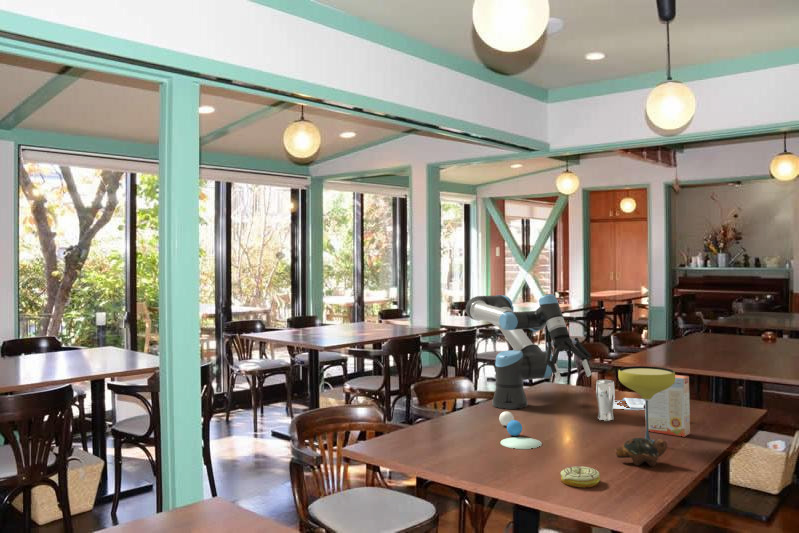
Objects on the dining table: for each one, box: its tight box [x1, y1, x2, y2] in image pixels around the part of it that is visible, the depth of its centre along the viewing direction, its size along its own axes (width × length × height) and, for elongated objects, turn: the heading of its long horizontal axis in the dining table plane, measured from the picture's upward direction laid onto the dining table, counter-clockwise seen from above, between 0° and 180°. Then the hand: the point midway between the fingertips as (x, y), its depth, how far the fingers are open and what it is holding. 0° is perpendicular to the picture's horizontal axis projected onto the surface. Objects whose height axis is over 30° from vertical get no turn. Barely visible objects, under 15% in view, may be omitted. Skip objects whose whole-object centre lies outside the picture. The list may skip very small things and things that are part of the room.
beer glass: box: [595, 379, 616, 422], centre depth 255 cm, size 7×7×15 cm
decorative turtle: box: [614, 437, 668, 468], centre depth 200 cm, size 10×15×8 cm, turn 80°
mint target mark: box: [500, 436, 543, 450], centre depth 224 cm, size 14×14×1 cm
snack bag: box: [613, 397, 645, 411], centre depth 279 cm, size 19×20×2 cm
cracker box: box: [644, 374, 691, 438], centre depth 234 cm, size 14×6×21 cm, turn 47°
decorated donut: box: [559, 465, 601, 489], centre depth 184 cm, size 10×11×4 cm
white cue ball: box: [498, 410, 515, 427], centre depth 248 cm, size 6×6×6 cm
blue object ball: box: [506, 419, 523, 437], centre depth 234 cm, size 6×6×6 cm
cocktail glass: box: [617, 365, 676, 443], centre depth 220 cm, size 18×18×25 cm
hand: (574, 377), depth 262 cm, fingers open, 13 cm apart
